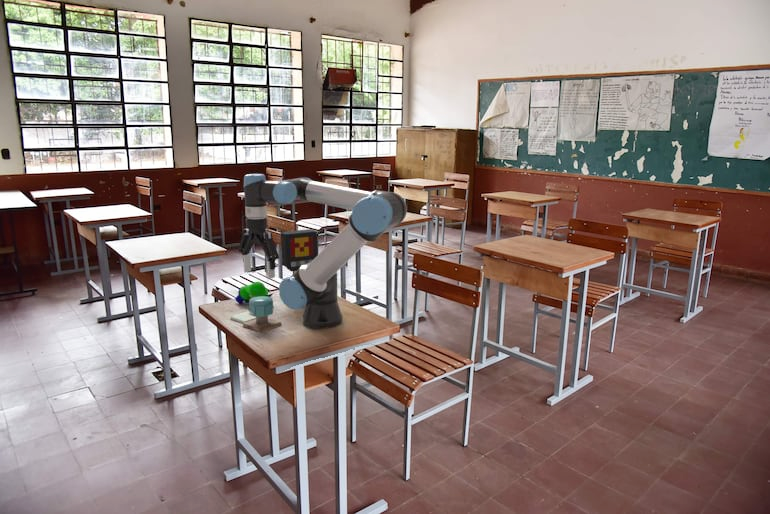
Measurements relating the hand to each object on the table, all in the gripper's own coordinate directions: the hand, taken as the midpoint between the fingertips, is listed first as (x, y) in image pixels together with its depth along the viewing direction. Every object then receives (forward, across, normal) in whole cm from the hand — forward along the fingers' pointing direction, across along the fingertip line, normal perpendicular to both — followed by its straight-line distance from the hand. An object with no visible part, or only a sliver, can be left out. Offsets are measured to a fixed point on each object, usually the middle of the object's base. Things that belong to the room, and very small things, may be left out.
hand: (259, 274), depth 198 cm
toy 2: (+20, -12, +31) cm, 39 cm away
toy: (+20, -23, +14) cm, 33 cm away
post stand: (+20, 0, 0) cm, 20 cm away
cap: (+15, 0, 0) cm, 15 cm away
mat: (+20, -11, +2) cm, 23 cm away
